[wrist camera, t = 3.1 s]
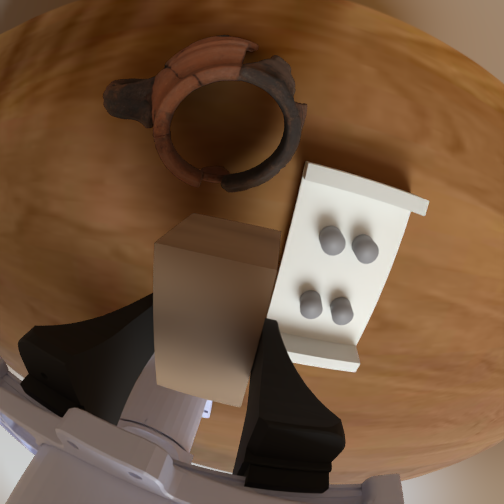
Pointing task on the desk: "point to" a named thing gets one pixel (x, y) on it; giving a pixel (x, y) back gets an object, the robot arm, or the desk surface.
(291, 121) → the pottery mug
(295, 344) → the peg stand
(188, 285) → the tan rectangular block
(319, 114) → the desk surface
